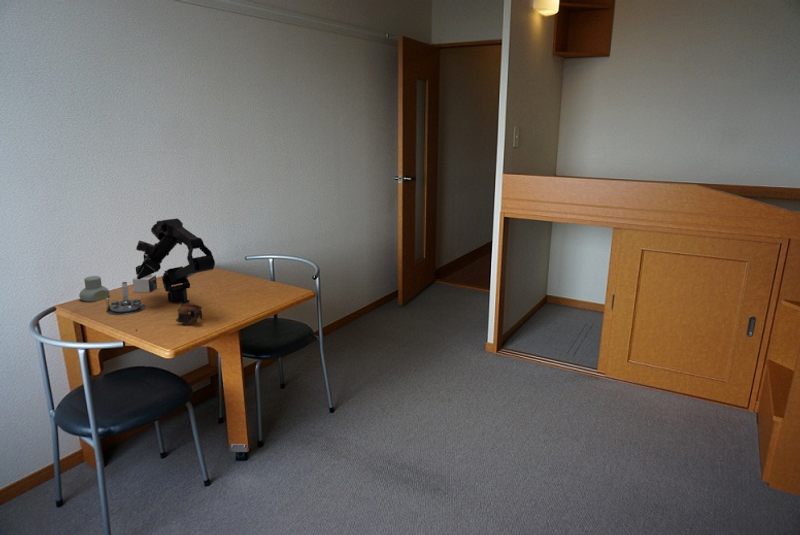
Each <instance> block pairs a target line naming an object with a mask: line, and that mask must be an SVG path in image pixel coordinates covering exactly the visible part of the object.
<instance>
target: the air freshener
mask: <svg viewBox="0 0 800 535" xmlns="http://www.w3.org/2000/svg"><path fill="white" fill-rule="evenodd" d="M109 296H110V290H109V289H108V288H107V287H105V286H103V285H102V279H101V277H100V276H99V275H91V276H86V277H84V288H83V289H82V290H81V291H79V299H80V300H82V301H83V302H87V303H91V302H93V303H94V302H98V301H102V300H105V298H109Z"/></svg>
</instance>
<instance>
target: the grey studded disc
mask: <svg viewBox="0 0 800 535" xmlns="http://www.w3.org/2000/svg"><path fill="white" fill-rule="evenodd" d="M121 292H122V300H120V301H117V300H113V301H111V303H110V309H111V311H112V312H114V313H128V312H133V311H136V310H139V309H140V308H141V307H142V304H143V303H142V302H141V299H139V298H135V299H129V298H130V297H129V288H128V281H122V282H121Z"/></svg>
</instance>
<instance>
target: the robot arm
mask: <svg viewBox="0 0 800 535" xmlns="http://www.w3.org/2000/svg"><path fill="white" fill-rule="evenodd" d="M183 225H184V224H183V222H182V221H181V220H180V219H179V218H167V219H163V220H162V219H161V220H157V221H156V223H155V224H153V225H152V227H151V228H150V232H151V233H152V235H153V236H154V237H155V238H156V239H157V240H158V241H157V242H154V244H151V243H149V242H146V241H143V240H138V243H137V245H136V248H135V250H136V251H138V252H143V261H142V263H141V264H140V265H141V266H140V268H139V270H138V272H137V273H139V275H138V277H137V279H141V278H143V277H146V276H148V275H150V274H151V275H153V274H155V273H158V272H159V271H160V269H161V264H162V263H163V260H164V259H165V258H166V257H167V256H169V255H170V252H171V251H172V250H173V249H174V248H175V247H176V246H177V244H179V245H180V246H182V245H183V244H184V245H185V246H186V248H187V250H188V252H187V256H186V259H187V262H188V264H187V265H184V266H177V267H173V268H169V269H167V270H164V272H163V274H162V278H161V279H162V280H161V281H162V284H163V287H164V291H165V292H167V300H168V302H169V303H172V304H189V302H190V299H188V291H187V289H190V288H191V283H190V280H189V279H188V278H189V277H191V276H194V275H195V274H198V273H203V272H207V271H208V272H209V271H212V270H214V268H215V265H216V262H215V261H216V260H215V258H214V256H213V253H212V251H211V250H210V248H209V247H207V246H206V245H205V243H204V241H203V239H202V237H198V236H196V235H195V234H193V232H191V231H189V230H188V229H186V228H185V227H184V226H183ZM196 249H199V250H200V251H201V252H202V253H203V254H204V255H203V256H196V257H193V251H194V250H196Z"/></svg>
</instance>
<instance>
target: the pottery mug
mask: <svg viewBox="0 0 800 535" xmlns="http://www.w3.org/2000/svg"><path fill="white" fill-rule="evenodd" d="M176 311H177V313H178V314H177V317H178V318H175V322H177V323H178V324H179V325H181V326H187V327H190V323H191V324H196V323H197V322H198V319H200V318H201V319H203V310H202V306H201V305H198V304H193V303H186V304H183V303H180V307H179V308H178V309H177V310H176Z"/></svg>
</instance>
